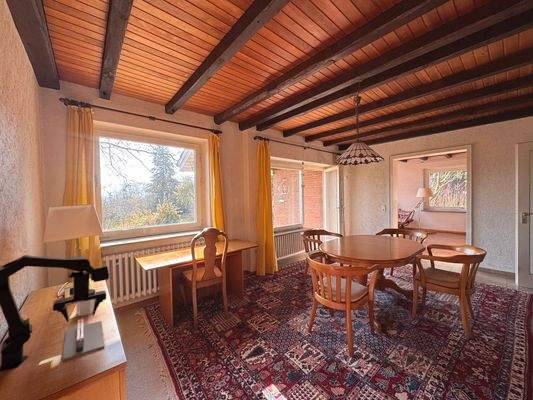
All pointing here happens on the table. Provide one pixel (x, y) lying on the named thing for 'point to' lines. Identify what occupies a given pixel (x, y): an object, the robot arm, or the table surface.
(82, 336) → the tongs moving arm
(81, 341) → the tongs fixed arm
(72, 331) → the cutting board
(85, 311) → the jar
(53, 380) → the table surface
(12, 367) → the robot arm
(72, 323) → the table surface
